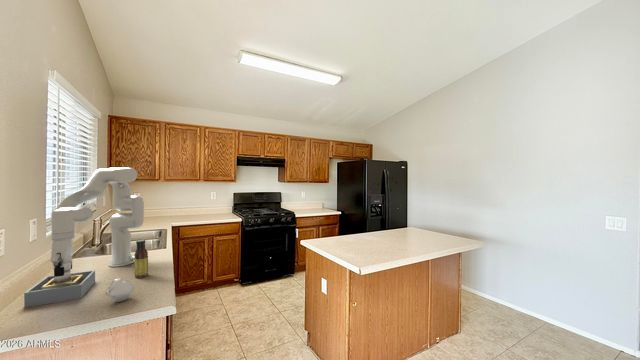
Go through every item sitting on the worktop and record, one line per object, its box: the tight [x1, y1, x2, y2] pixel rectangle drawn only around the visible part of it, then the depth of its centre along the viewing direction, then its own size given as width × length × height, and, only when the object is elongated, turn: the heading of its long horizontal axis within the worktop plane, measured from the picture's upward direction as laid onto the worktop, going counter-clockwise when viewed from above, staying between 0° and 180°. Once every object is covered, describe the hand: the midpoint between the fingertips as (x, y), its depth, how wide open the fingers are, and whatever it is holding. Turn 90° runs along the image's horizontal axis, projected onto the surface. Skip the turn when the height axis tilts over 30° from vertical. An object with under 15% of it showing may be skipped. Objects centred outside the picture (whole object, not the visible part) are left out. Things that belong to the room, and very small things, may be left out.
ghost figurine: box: [105, 277, 135, 303], centre depth 113 cm, size 9×10×10 cm
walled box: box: [23, 269, 96, 308], centre depth 120 cm, size 18×20×6 cm
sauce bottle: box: [133, 239, 149, 279], centre depth 140 cm, size 6×6×20 cm
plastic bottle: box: [51, 255, 73, 285], centre depth 119 cm, size 6×7×20 cm
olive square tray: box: [41, 274, 83, 290], centre depth 120 cm, size 11×11×5 cm
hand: (63, 272), depth 120 cm, fingers open, 8 cm apart
